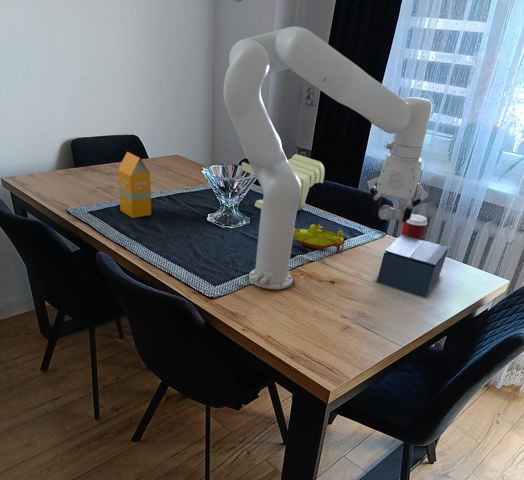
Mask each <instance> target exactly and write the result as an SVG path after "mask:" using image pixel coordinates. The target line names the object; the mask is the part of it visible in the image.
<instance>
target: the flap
mask: <svg viewBox="0 0 524 480" xmlns="http://www.w3.org/2000/svg"><path fill="white" fill-rule="evenodd" d="M424 241H425V240H422V239H421V240H419V239H416V238H412V237H409V236H406V235H402V234H401V233H400V235H399V236H398V237H397V238H396V239H395V240H394V241H393V242H391V244H390V245H389V246H388V247H387V248H386V249H385V250H384V252H388V253H391V254H394V255H398V256H401V257H404V258H407V259H410V257H411V256H412V255H413V254H414V253H415V252H416V250H417V249H418V248H419V247H420V246H421V245H422V244H423V242H424Z"/></svg>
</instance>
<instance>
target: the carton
mask: <svg viewBox="0 0 524 480" xmlns="http://www.w3.org/2000/svg"><path fill="white" fill-rule="evenodd" d="M423 241H424V242H423V244H422V245H421V246H420V247H419V248H418V249H417V250H416V252H415V253H414V254H413V255H412V256H411V257H410V259H407V258H404V257H401V256H398V255H394V254H391V253H388V252H385V251H384V252H383V254H382V255H383V256H382V260H381V263H380V266H379V272H378V275H377V279H376V283H379V284H382V285H385V286H389V287H391V288H394V289H397V290H400V291H402V292H403V291H404V292H407V293H410V294H413V295H417V296H420V297H421V298H422V297H423V298H427V296H428V294H429V293H430V292H431V290H432V289H433V287H434V286H435V284H436V283H437V282H438V280H439V278H440V276H441V273H442V269H443V266H444V263H445V260H446V257H447V254H448V251H449V246H446V245H442V244H438V243H436V242H431V241H428V240H423Z"/></svg>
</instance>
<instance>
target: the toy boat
mask: <svg viewBox="0 0 524 480" xmlns="http://www.w3.org/2000/svg"><path fill="white" fill-rule="evenodd" d="M313 221H314V222H313V223H312V224H311V225H310V226H309V227H308V229H305V228H300V227H299V228H298V227H296V228H295V227H294V234H293V241H295V242H298V243H300V244H302V245H304V246H305V247H308V248H313V249H318V250H319V249H320V250H326V249H328V248H329V249H330V248H331V247H332V248H333V247H335V248H336V252H339V253H340V249H341V250H344V247H345V245H344V244H345V243H346V241H344V239H345V237H344V233H343V230H339V231H338V232H337V231H336V230H334V229H333V228H332V227H330V226H329V225H327V224H326V223H325V222H324V221H322V220H321V219H319V218H317V219H314V220H313ZM319 221H320V222H321V223H323V224H324V225H325V226H327V227H328V228H329V229H331V230H332V231H331V230H328V229H324V228H323V226H321V225H320V224H319Z"/></svg>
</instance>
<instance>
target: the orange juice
mask: <svg viewBox="0 0 524 480" xmlns="http://www.w3.org/2000/svg"><path fill="white" fill-rule="evenodd" d="M117 178H118V194H119V195H118V196H119V209H120V211H121V212H122V213H124V214H126V215H127V216H128V217H130V218H132V219H135V218H140V217H146V216H151V215H152V191H151V189H152V188H151V172H150V171H149V170H148V168H147V166H146V165H145V163H144V162H143V160H142V159H141V157H139V156H137V155H135V154H133V153H131V152H129V151H127V152H126V153H125V155H124V156H123V159H122V161H121V162H120V164H119V166H118V168H117Z"/></svg>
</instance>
